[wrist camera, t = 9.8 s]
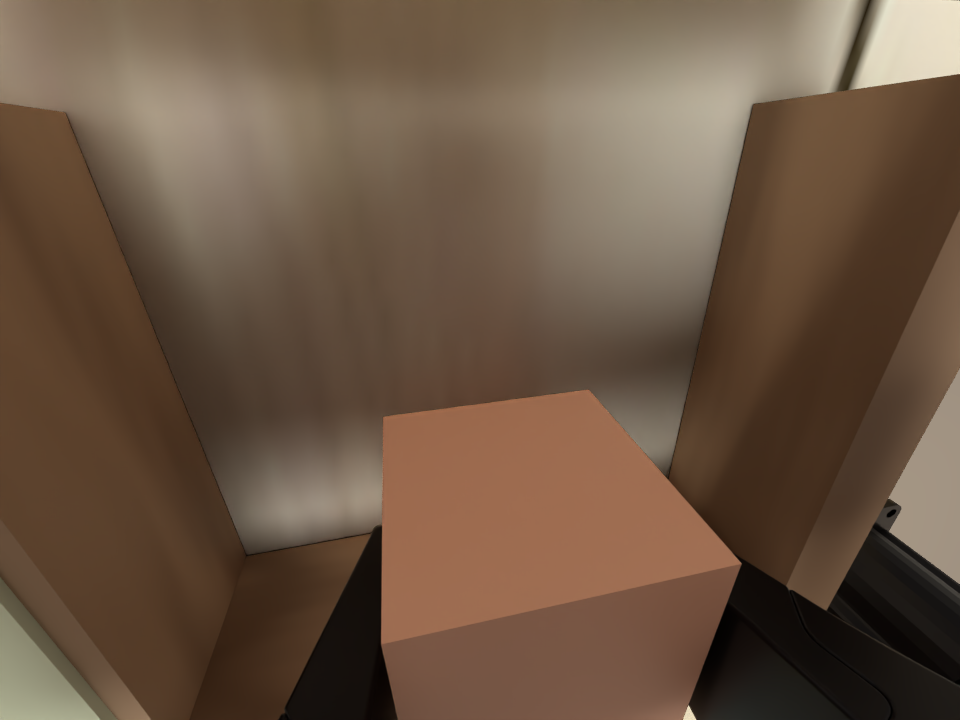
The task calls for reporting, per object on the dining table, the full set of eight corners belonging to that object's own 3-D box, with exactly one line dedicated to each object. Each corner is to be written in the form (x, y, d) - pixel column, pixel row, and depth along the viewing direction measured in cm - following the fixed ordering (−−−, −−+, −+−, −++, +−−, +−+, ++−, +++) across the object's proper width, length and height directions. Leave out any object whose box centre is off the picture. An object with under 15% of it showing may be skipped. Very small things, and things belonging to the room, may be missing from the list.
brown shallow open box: (821, 103, 11) (1147, 62, 6) (695, 538, 18) (802, 670, 13) (-437, 117, 7) (-2282, 27, 2) (51, 674, 14) (-115, 931, 9)
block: (588, 389, 9) (742, 563, 5) (573, 532, 11) (675, 736, 7) (383, 416, 8) (381, 644, 4) (406, 565, 10) (418, 813, 6)
